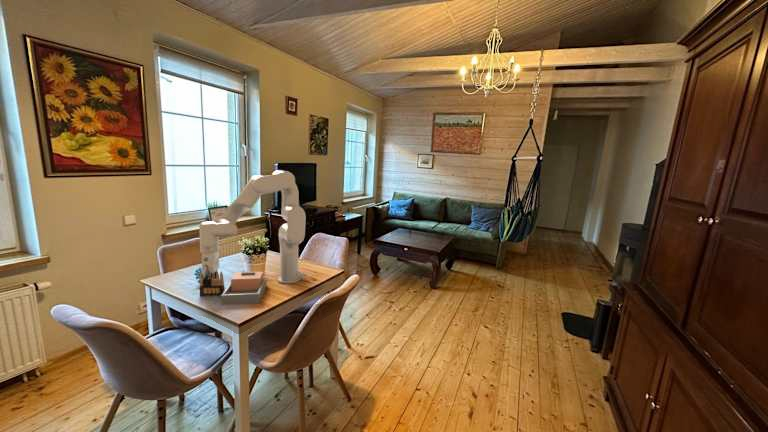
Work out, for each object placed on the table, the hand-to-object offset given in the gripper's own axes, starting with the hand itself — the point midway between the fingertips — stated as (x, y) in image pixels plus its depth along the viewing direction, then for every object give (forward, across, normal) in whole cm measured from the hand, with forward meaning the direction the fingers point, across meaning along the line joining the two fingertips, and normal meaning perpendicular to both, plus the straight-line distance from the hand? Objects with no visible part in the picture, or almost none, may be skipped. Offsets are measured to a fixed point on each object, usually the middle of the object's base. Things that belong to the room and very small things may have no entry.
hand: (210, 282), depth 145 cm
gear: (+6, +16, +8) cm, 19 cm away
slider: (+4, +5, -15) cm, 17 cm away
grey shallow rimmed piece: (+6, -1, -16) cm, 17 cm away
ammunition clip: (+6, 0, 0) cm, 7 cm away
